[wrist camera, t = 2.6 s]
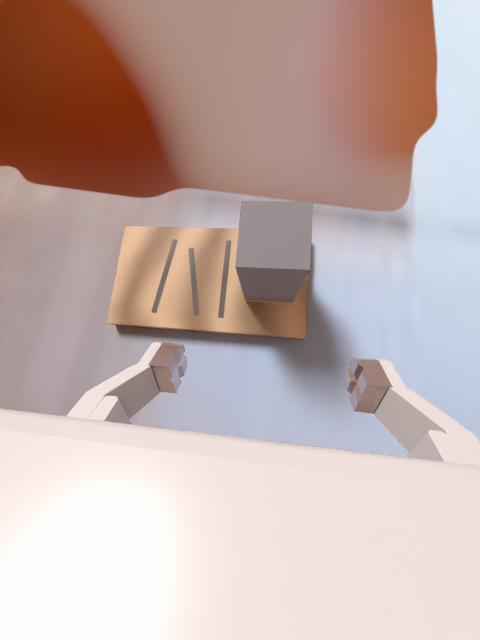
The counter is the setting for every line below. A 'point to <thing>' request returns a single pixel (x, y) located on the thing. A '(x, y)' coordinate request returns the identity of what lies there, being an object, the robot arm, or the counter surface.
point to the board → (194, 286)
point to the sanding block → (273, 250)
